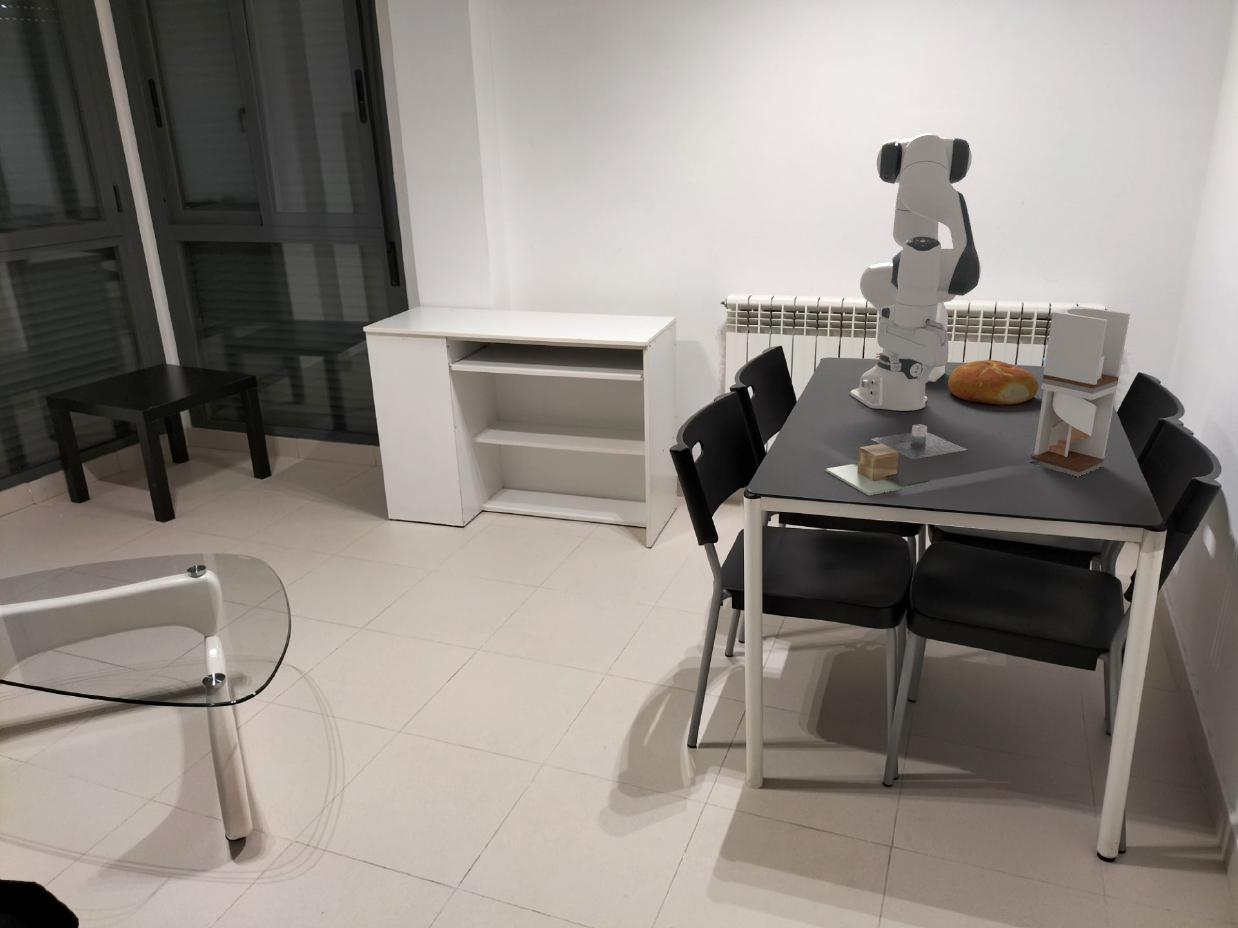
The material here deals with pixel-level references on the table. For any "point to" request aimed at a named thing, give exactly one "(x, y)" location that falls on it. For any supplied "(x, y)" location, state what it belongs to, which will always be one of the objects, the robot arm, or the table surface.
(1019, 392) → the bread
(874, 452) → the oak block
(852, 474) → the sage mat
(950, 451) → the post mount
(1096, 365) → the white tall layered tower
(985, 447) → the table surface
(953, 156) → the robot arm
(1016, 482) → the table surface
